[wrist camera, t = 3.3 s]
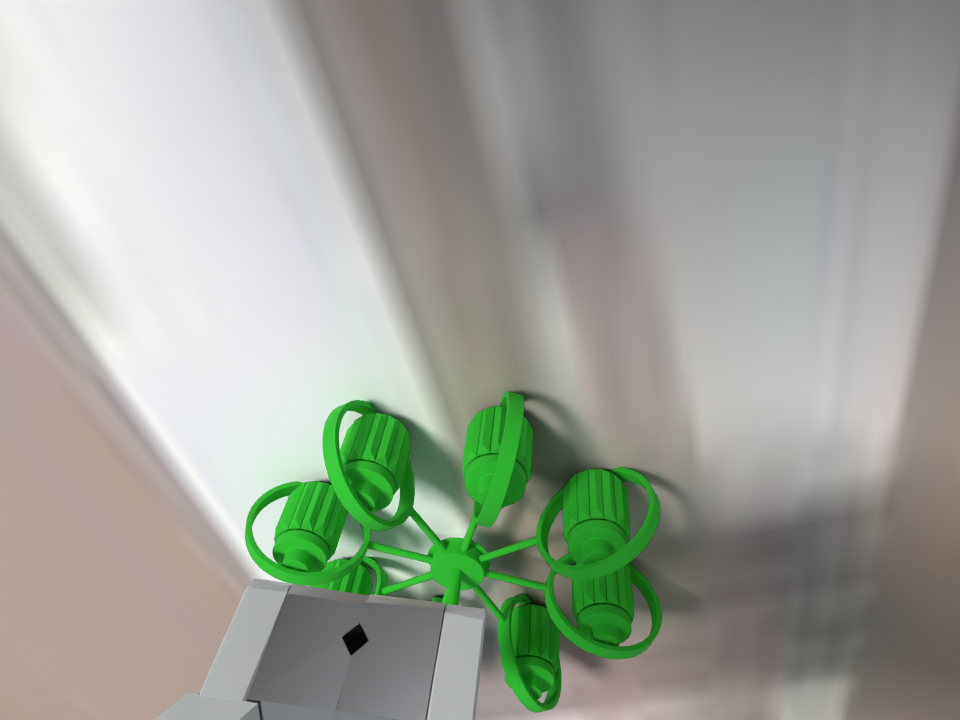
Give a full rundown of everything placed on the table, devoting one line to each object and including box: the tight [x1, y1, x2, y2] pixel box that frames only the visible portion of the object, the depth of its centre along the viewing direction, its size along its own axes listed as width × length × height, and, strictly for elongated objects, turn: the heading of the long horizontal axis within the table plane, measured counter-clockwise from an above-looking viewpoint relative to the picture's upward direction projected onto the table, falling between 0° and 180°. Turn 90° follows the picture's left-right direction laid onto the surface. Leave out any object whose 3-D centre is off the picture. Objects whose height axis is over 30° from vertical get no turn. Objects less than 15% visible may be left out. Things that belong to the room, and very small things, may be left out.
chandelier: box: [245, 391, 662, 712], centre depth 26 cm, size 15×15×7 cm
